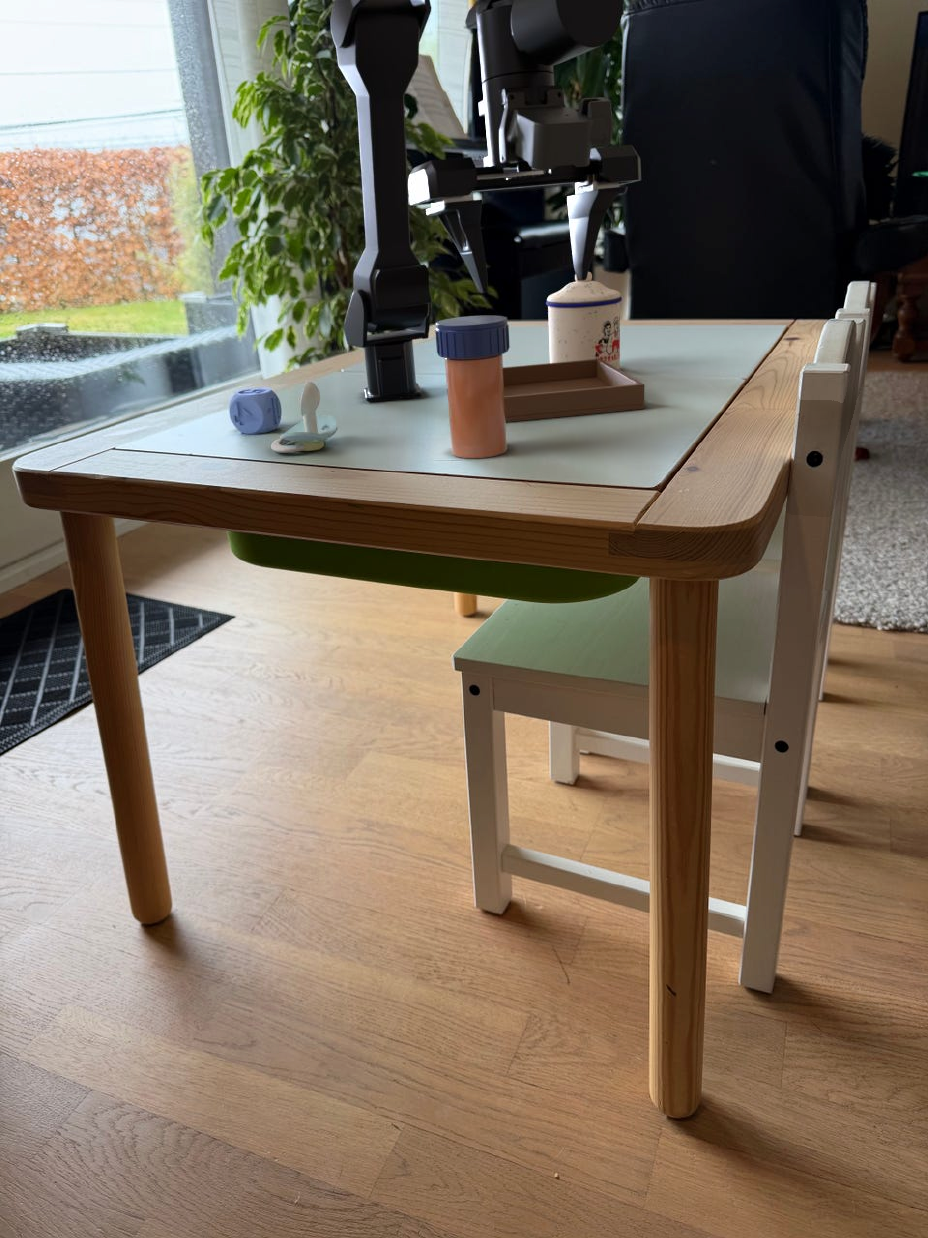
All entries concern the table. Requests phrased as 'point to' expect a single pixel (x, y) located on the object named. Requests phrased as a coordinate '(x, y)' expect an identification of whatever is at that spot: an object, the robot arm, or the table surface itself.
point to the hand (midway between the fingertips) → (533, 286)
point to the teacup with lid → (584, 323)
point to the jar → (476, 406)
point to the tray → (568, 390)
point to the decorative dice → (255, 410)
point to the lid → (472, 337)
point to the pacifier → (307, 425)
